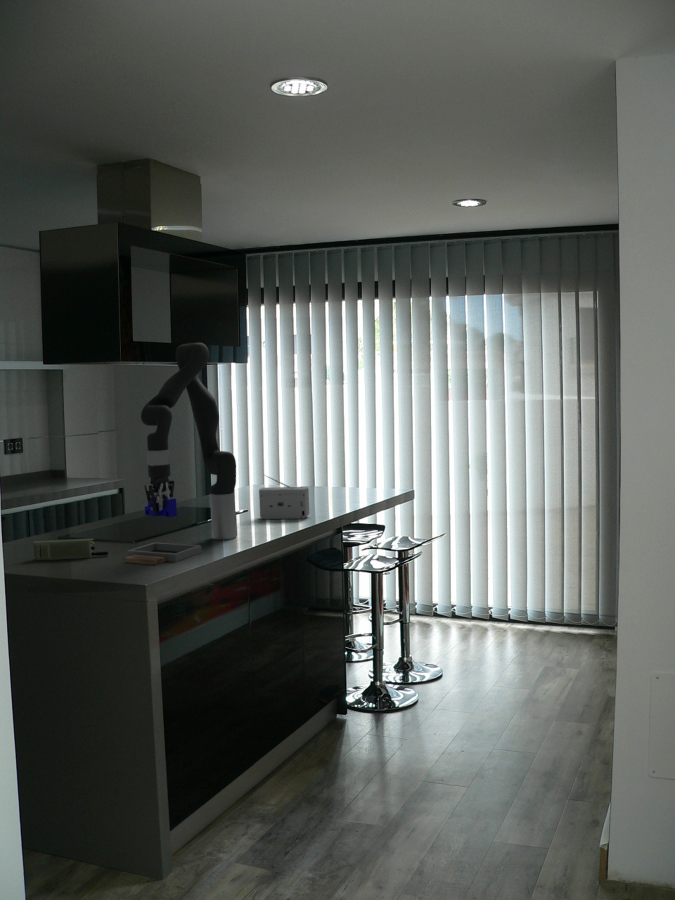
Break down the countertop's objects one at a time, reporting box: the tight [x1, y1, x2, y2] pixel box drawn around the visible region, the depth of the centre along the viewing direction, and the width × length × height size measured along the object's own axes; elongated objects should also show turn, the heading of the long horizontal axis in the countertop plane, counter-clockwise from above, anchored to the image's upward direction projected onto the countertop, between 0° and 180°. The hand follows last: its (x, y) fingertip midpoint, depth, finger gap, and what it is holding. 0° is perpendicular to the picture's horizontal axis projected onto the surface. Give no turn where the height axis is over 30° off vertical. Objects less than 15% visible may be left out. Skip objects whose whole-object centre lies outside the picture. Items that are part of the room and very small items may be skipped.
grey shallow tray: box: [126, 541, 203, 563], centre depth 297 cm, size 15×20×2 cm
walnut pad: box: [124, 555, 166, 565], centre depth 287 cm, size 5×13×2 cm, turn 64°
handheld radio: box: [33, 538, 109, 561], centre depth 298 cm, size 7×3×25 cm
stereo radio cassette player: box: [258, 474, 310, 520], centre depth 366 cm, size 21×8×20 cm, turn 84°
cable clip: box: [144, 496, 178, 518], centre depth 295 cm, size 12×4×6 cm, turn 49°
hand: (161, 511), depth 295 cm, fingers closed on cable clip, 4 cm apart
